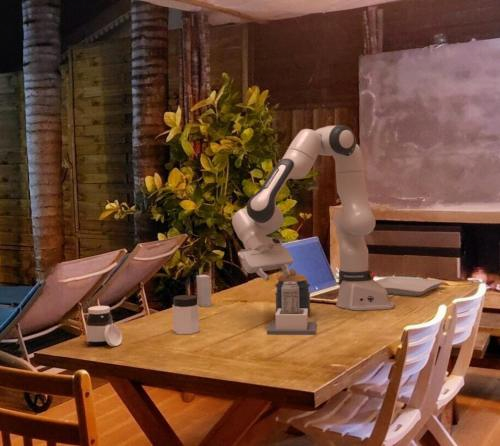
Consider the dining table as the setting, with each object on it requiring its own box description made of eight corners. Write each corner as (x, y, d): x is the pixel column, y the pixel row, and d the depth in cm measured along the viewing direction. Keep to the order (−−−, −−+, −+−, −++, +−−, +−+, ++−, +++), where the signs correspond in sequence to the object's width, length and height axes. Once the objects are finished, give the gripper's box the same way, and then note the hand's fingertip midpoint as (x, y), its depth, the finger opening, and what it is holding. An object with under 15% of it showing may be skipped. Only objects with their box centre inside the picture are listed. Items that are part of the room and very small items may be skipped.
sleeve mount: (316, 324, 249) (316, 307, 248) (315, 334, 235) (314, 316, 235) (270, 324, 251) (270, 307, 250) (266, 334, 237) (266, 316, 237)
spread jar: (92, 339, 236) (91, 304, 235) (126, 339, 235) (125, 304, 234) (83, 349, 224) (81, 312, 223) (118, 348, 223) (117, 312, 222)
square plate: (387, 283, 329) (387, 275, 328) (445, 289, 313) (445, 280, 312) (361, 293, 307) (361, 284, 307) (421, 299, 291) (421, 290, 291)
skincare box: (211, 306, 285) (211, 276, 284) (201, 307, 284) (200, 277, 282) (207, 303, 291) (206, 274, 290) (196, 304, 289) (196, 274, 288)
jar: (202, 332, 241) (201, 297, 240) (179, 335, 238) (178, 300, 237) (192, 327, 249) (191, 293, 248) (170, 330, 246) (169, 296, 245)
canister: (317, 315, 264) (317, 268, 263) (295, 321, 255) (294, 272, 253) (290, 310, 273) (290, 265, 271) (268, 316, 264) (267, 269, 262)
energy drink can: (300, 324, 246) (299, 281, 244) (298, 328, 240) (298, 284, 238) (283, 323, 247) (282, 280, 245) (281, 327, 241) (280, 284, 239)
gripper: (239, 244, 246) (258, 275, 239) (284, 239, 258) (303, 268, 252) (232, 256, 250) (250, 287, 243) (276, 250, 262) (295, 279, 255)
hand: (277, 277), depth 247 cm, fingers open, 8 cm apart
